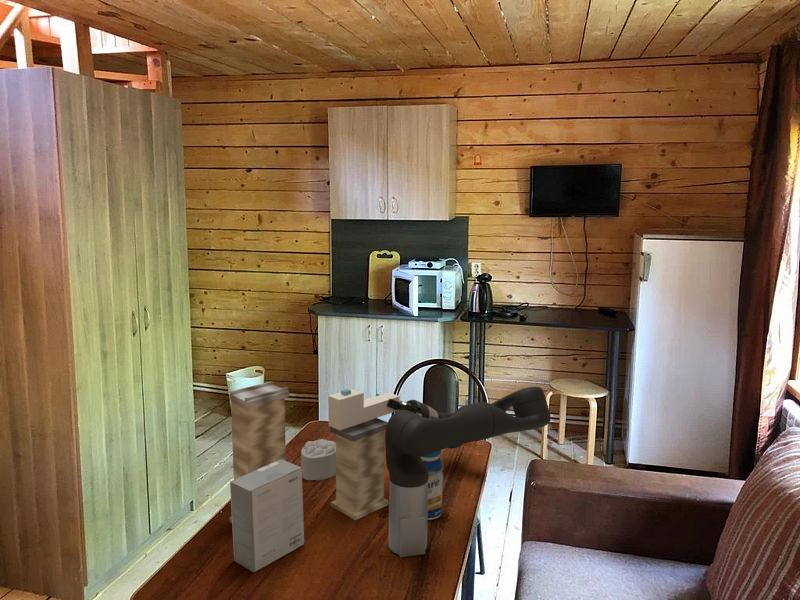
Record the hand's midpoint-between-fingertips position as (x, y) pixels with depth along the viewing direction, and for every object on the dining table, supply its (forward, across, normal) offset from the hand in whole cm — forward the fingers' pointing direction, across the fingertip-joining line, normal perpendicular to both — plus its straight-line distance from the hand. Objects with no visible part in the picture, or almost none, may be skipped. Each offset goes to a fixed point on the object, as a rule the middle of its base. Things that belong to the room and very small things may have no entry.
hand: (382, 400), depth 178 cm
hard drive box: (+19, -2, -43) cm, 48 cm away
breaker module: (+4, 0, -6) cm, 7 cm away
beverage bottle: (-16, -15, -23) cm, 32 cm away
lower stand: (-7, 0, -28) cm, 29 cm away
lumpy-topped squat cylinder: (-11, +24, -26) cm, 37 cm away
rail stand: (+13, +12, -39) cm, 43 cm away
